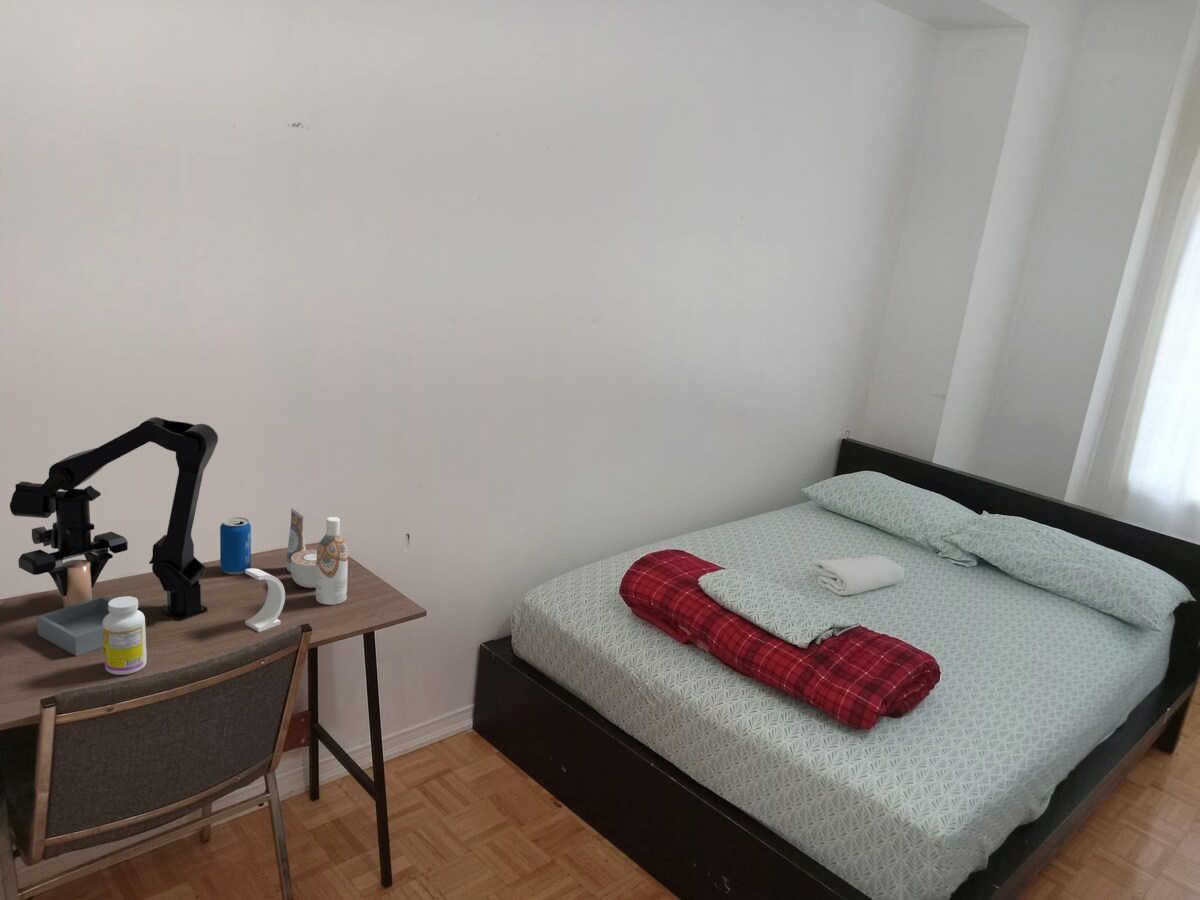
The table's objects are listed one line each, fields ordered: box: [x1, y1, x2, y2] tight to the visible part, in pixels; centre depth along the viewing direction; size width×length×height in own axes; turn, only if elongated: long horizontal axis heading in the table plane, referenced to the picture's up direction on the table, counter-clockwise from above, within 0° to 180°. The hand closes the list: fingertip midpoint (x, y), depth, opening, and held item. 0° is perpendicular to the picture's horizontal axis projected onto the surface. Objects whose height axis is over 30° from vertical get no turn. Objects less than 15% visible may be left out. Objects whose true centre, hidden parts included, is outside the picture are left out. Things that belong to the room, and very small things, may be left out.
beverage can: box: [219, 516, 252, 575], centre depth 200 cm, size 6×6×12 cm
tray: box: [36, 595, 112, 657], centre depth 167 cm, size 13×13×4 cm
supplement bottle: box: [103, 595, 148, 676], centre depth 156 cm, size 7×7×13 cm
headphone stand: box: [244, 568, 286, 633], centre depth 177 cm, size 5×6×12 cm
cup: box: [62, 559, 93, 608], centre depth 177 cm, size 5×5×9 cm
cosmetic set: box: [285, 507, 349, 606], centre depth 197 cm, size 25×9×19 cm, turn 42°
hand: (77, 591), depth 177 cm, fingers closed on cup, 5 cm apart
